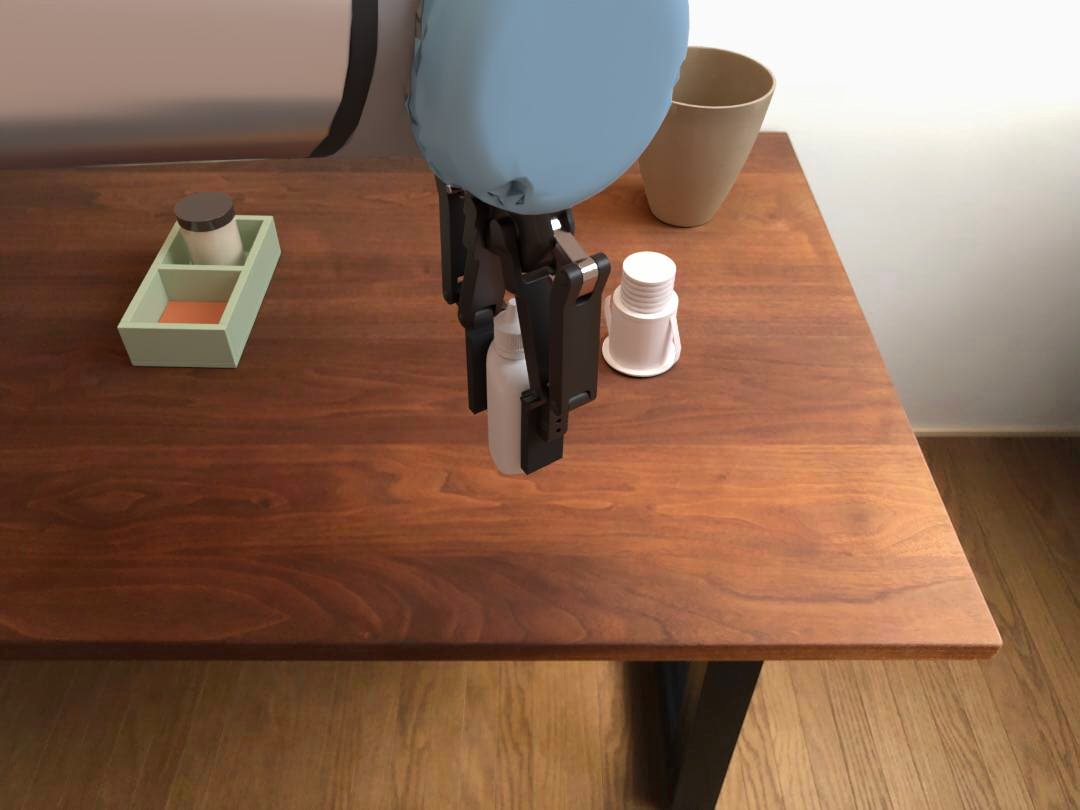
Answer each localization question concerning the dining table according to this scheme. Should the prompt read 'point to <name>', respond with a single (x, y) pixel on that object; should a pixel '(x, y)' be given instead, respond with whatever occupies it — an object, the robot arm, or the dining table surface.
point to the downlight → (643, 317)
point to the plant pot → (705, 134)
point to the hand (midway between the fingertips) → (514, 432)
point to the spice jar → (210, 229)
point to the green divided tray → (200, 302)
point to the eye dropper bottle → (506, 391)
